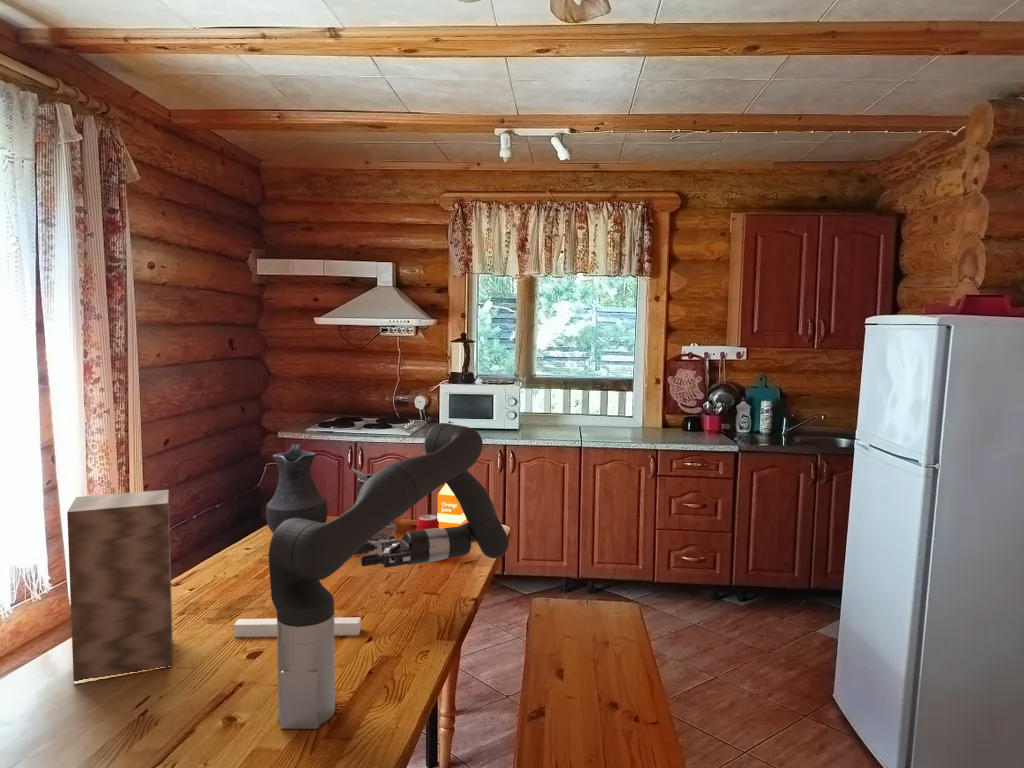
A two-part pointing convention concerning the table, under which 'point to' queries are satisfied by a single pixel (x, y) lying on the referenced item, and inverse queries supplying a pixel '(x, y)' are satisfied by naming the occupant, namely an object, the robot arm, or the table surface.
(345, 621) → the off-white bar
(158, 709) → the table surface
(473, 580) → the table surface
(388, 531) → the lighter
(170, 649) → the dark wooden plinth
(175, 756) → the table surface
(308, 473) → the pitcher
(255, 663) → the table surface
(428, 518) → the beverage can
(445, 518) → the orange juice
